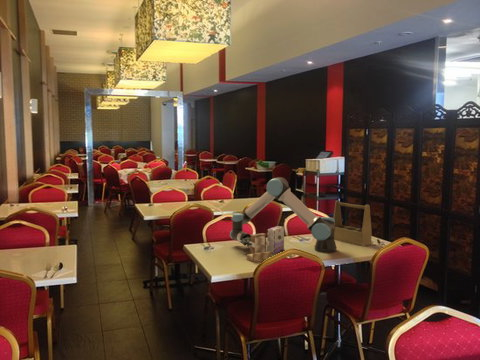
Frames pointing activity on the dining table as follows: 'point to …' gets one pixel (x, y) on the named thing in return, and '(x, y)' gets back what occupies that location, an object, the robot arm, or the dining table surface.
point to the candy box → (275, 239)
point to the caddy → (351, 233)
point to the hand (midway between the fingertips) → (261, 244)
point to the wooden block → (258, 243)
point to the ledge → (259, 256)
